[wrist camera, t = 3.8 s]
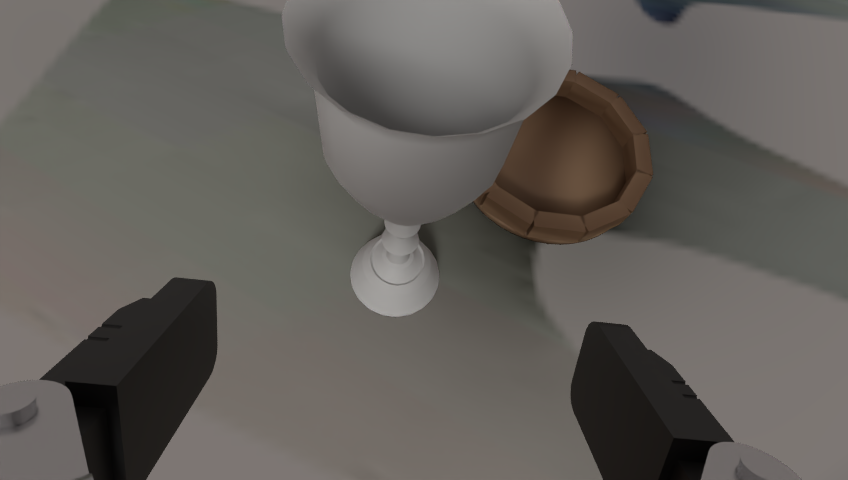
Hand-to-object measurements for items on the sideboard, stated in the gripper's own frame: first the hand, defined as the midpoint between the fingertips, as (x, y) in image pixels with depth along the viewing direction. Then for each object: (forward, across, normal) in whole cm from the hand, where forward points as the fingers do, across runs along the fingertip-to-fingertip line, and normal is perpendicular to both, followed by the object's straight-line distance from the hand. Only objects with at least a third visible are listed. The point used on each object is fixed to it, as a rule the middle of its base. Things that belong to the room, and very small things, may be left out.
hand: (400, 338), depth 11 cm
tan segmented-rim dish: (+23, -9, 0) cm, 25 cm away
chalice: (+17, 0, +6) cm, 18 cm away
